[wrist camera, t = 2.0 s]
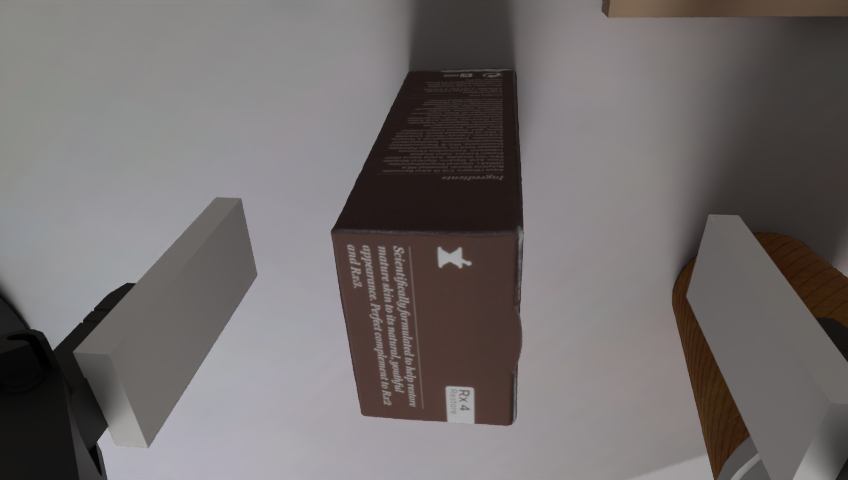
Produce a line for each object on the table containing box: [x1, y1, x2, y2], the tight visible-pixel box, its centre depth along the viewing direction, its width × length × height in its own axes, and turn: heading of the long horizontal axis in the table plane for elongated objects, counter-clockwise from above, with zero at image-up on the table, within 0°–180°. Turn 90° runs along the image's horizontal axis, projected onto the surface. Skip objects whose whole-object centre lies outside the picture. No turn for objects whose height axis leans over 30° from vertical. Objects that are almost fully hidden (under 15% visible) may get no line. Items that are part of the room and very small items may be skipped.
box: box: [331, 68, 524, 426], centre depth 18 cm, size 6×4×12 cm
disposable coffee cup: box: [672, 233, 848, 480], centre depth 21 cm, size 10×10×12 cm
